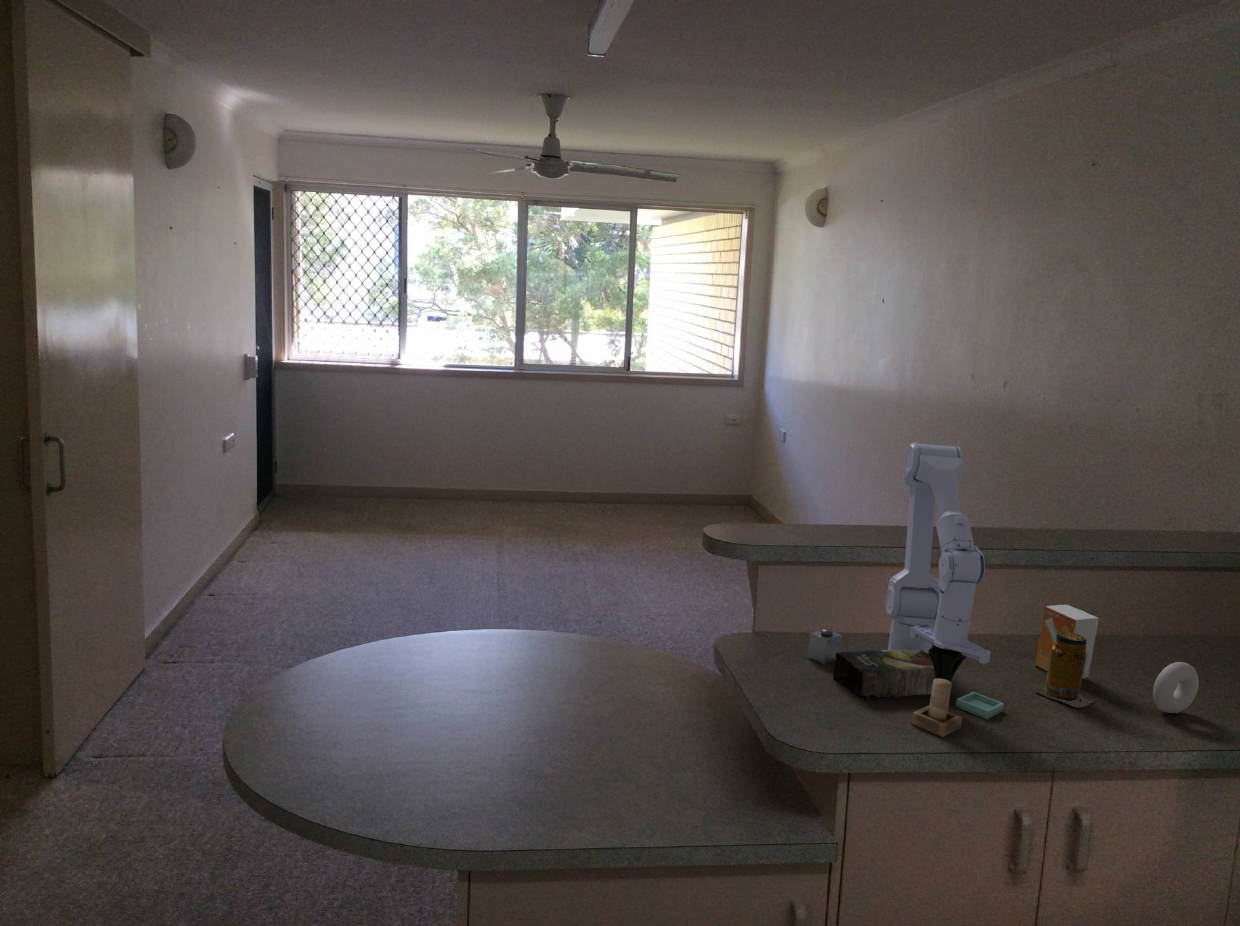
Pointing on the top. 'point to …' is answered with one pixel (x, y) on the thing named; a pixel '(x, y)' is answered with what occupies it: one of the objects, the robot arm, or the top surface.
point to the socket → (936, 722)
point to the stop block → (824, 645)
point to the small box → (1065, 621)
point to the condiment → (1066, 666)
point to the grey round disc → (1167, 682)
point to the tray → (980, 705)
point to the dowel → (939, 699)
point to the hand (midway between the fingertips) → (942, 687)
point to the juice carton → (887, 672)
